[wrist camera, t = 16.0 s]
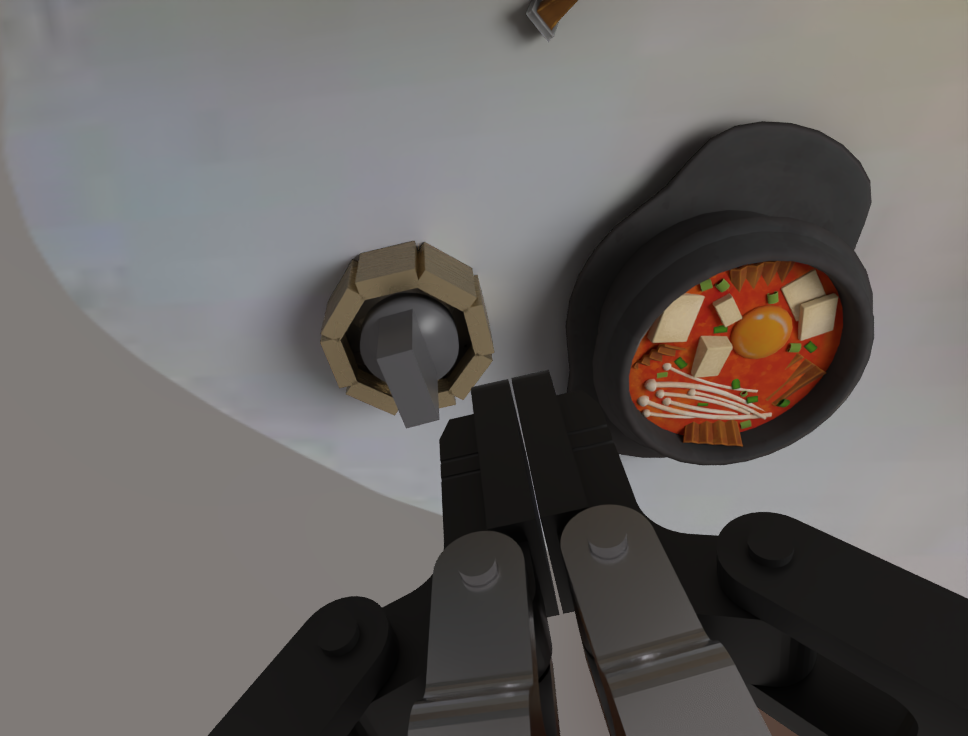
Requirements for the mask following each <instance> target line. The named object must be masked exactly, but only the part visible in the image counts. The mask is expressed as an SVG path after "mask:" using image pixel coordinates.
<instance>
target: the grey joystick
mask: <svg viewBox="0 0 968 736" xmlns="http://www.w3.org/2000/svg"><path fill="white" fill-rule="evenodd" d="M458 351H459V343H458V332H457V326H456V322H455V320H454V317H453V316H452V314H451V312H450V311H449V310H448V309H447V308H446V307H445V306H444V305H443V304H442V303H441V302H439V301H438V300H436V299H434V298H432V297H430V296H427V295H424V294H420V293H410V292H406V293H398V294H394V295H391V296H388V297H386V298H384V299H382V300H381V301H379V302H378V303H376V304H375V305H374V306H373V307H372V308H371V309H370V310H369V312H368V313H367V315H366V317H365V319H364V322H363V325H362V332H361V339H360V352H361V356H362V359H363V361H364V363H365V365H366V366H367V368H368V369H369V370H370V371H371V372H372V373H373V374H374V375H375V376H376V377H377V378H379V379H381V380H382V381H384V382H386V383H387V385H388V387H389V390H390V392H391V394H392V396H393V399H394V401H395V403H396V406H397V408H398V410H399V413H400V415H401V417H402V420H403V422H404V424H405V427H406V428H410V427H413V426H417V425H421V424H425V423H429V422H433V421H436V420H439V400H438V380H439V379H441V378H442V377H443V376H444V375H446V374H447V373H448V372H449V371H450V369H451V368H452V367H453V365H454V363H455V361H456V359H457V356H458Z"/></svg>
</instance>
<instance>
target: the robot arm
mask: <svg viewBox="0 0 968 736" xmlns="http://www.w3.org/2000/svg"><path fill="white" fill-rule="evenodd" d="M511 379H512V384H513V389H514V394H515V399H516V403H517V408H518V413H519V418H520V423H521V428H522V432H523V437H524V442H525V447H526V451H525V447H524V443H523V438H522V434H521V430H520V426H519V422H518V418H517V413H516V409H515V405H514V401H513V397H512V393H511V388H510V384H509V381H508V379H506V380H502V381H497V382H493V383H488V384H484V385H480V386H475V387H471V395H472V403H473V412H474V414H472V415H467V416H463V417H458V418H454V419H450V420H449V421H448V423H447V425H446V428H445V430H444V432H443V434H442V436H441V438H440V440H439V442H440V461H441V479H442V482H441V486H442V508H443V529H444V550H443V552H442V553H441V554H440V556H439V557H438V559H437V561H436V563H435V566H434V570H433V574H432V575H431V577H430V578H429V579H428V580H427V581H426V582H425V583H424V584H423V585H421V586H420V587H419V588H417V589H416V590H414V591H413V592H411V593H409V594H407V595H406V596H404V597H402V598H400V599H398V600H396V601H394V602H392V603H390V604H388V605H387V606H385V607H383V608H382V607H381V606H380V605H378V603H376V602H375V601H373V600H371V599H368V598H365V597H358V596H354V597H353V596H351V597H345V598H341V599H338V600H335V601H333V602H331V603H329V604H327V605H325V606H324V607H322V608H320V609H319V610H318V611H317V612H315V613H314V614H313V615H312V616H311V617H310V618H309V619H308V620H307V621H306V622H305V624H304V625H303V626H302V627H301V628H300V630H299V631H298V632H297V633H296V634H295V635H294V636H293V637H292V639H291V640H290V641H289V642H288V643H287V644H286V646H285V647H284V648H283V649H282V650H281V651H280V653H279V654H278V655H277V656H276V657H275V658H274V660H273V661H272V662H271V663H270V664H269V665H268V666H267V668H266V669H265V670H264V671H263V672H262V673H261V675H260V676H259V677H258V678H257V679H256V680H255V681H254V683H253V684H252V685H251V686H250V687H249V688H248V690H247V691H246V692H245V693H244V694H243V695H242V697H241V698H240V699H239V700H238V701H237V702H236V703H235V705H234V706H233V707H232V708H231V709H230V710H229V712H228V713H227V714H226V715H225V717H223V718H222V720H221V721H220V722H219V723H218V724H217V725H216V727H215V728H214V729H213V730H212V731H211V732H210V734H209V735H208V736H560V727H559V718H558V707H557V698H556V689H555V678H554V668H553V662H552V657H551V656H552V643H551V637H550V631H549V626H548V621H547V617H551V616H556V615H559V610H558V605H557V601H556V596H555V591H554V586H553V581H552V577H551V571H550V567H549V562H548V558H547V552H546V547H545V542H544V537H543V533H542V528H541V523H542V527H543V531H544V536H545V540H546V544H547V548H548V552H549V556H550V560H551V564H552V569H553V573H554V577H555V581H556V585H557V589H558V593H559V597H560V602H561V606H562V610H563V613H569V612H574V611H575V614H576V619H577V623H578V627H579V632H580V636H581V640H582V644H583V649H584V653H585V658H586V661H587V664H588V668H589V671H590V674H591V677H592V680H593V683H594V687H595V690H596V693H597V696H598V699H599V702H600V706H601V709H602V712H603V715H604V718H605V721H606V725H607V728H608V731H609V734H610V736H771V734H770V732H769V730H768V728H767V726H766V724H765V722H764V720H763V718H762V716H761V714H760V712H759V710H758V709H757V707H758V708H759V709H761V710H762V711H764V712H765V713H766V714H768V715H769V716H771V717H772V718H774V719H775V720H777V721H778V722H780V723H781V724H783V725H784V726H786V727H787V728H788V729H790V730H791V731H793V732H794V733H796V734H797V735H799V736H968V599H967V598H965V597H963V596H961V595H959V594H956V593H954V592H952V591H950V590H948V589H946V588H944V587H941V586H939V585H937V584H935V583H933V582H931V581H928V580H926V579H924V578H922V577H920V576H918V575H915V574H913V573H911V572H909V571H907V570H905V569H902V568H900V567H898V566H896V565H894V564H892V563H889V562H887V561H885V560H883V559H881V558H879V557H876V556H874V555H872V554H870V553H868V552H866V551H864V550H861V549H859V548H857V547H855V546H853V545H851V544H848V543H846V542H844V541H842V540H840V539H838V538H835V537H833V536H831V535H829V534H827V533H825V532H822V531H820V530H818V529H816V528H814V527H812V526H809V525H807V524H805V523H803V522H801V521H799V520H796V519H794V518H792V517H789V516H786V515H782V514H778V513H771V512H756V513H749V514H746V515H742V516H740V517H737V518H735V519H734V520H732V521H730V522H729V523H728V524H727V525H726V526H725V527H724V528H723V529H722V531H721V532H720V534H719V536H715V535H698V534H686V533H679V532H675V531H671V530H669V529H666V528H663V527H661V526H660V525H658V524H656V523H654V522H653V521H652V520H650V519H649V518H648V517H647V516H646V515H645V514H644V513H643V512H642V511H641V509H640V508H639V506H638V504H637V502H636V499H635V497H634V494H633V491H632V489H631V486H630V483H629V481H628V478H627V475H626V473H625V470H624V467H623V465H622V462H621V460H620V457H619V454H618V452H617V449H616V446H615V444H614V442H613V438H612V436H611V433H610V430H609V428H608V426H607V422H606V420H605V417H604V414H603V412H602V409H601V407H600V404H599V403H598V402H596V401H595V400H594V399H593V398H592V397H590V396H589V395H588V394H587V393H586V392H584V391H583V390H578V391H574V392H569V393H565V394H561V395H556V393H555V390H554V386H553V383H552V379H551V376H550V373H549V370H545V371H541V372H537V373H532V374H528V375H523V376H519V377H514V378H511ZM526 452H527V456H526ZM527 457H528V460H527ZM528 461H529V465H528ZM529 466H530V470H529ZM530 471H531V474H530ZM531 476H532V479H531ZM532 481H533V484H532ZM533 485H534V489H533ZM534 490H535V494H534ZM535 495H536V499H535ZM536 500H537V503H536ZM537 505H538V508H537ZM538 510H539V513H538ZM539 514H540V518H539ZM540 519H541V523H540Z"/></svg>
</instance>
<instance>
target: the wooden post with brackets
mask: <svg viewBox="0 0 968 736" xmlns="http://www.w3.org/2000/svg"><path fill="white" fill-rule="evenodd" d="M577 1H578V0H543V1H542V0H532V1H531V3H530V6H529V8H528V10H527V13H526V15H527V16H528V17H529V19H530V20H531V21H532V22H533V24H534V25H535V26H536V27H537V29H538V30H539V31H540V32H541V34H542V35H543V36H544V37H545V39H546V40H547V41H548V42H549V40H550V39H551V38H552V37H554V35H555V32H556V29H557V26H558V23H559V22H558V21H559V20H560V19H561V18H562V17H563V16H564V15H565V14H566V13H567V12H568V10H569V9H570V8H571V7H572V6H573V5H574V4H575V3H576V2H577Z"/></svg>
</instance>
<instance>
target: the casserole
mask: <svg viewBox="0 0 968 736" xmlns="http://www.w3.org/2000/svg"><path fill="white" fill-rule="evenodd" d="M870 205H871V187H870V180H869V178H868V176H867V174H866V172H865V170H864V168H863V166H862V165H861V163H860V161H859V160H858V159H857V158H856V157H855V156H854V155H853V154H852V153H851V152H850V151H849V150H848V149H847V148H846V147H845V146H844V145H843V144H841V143H839V142H837V141H836V140H834V139H832V138H831V137H829V136H827V135H825V134H824V133H822V132H820V131H818V130H814V129H811V128H807V127H804V126H800V125H796V124H793V123H781V122H763V121H762V122H756V123H750V124H744V125H738V126H734V127H732V128H730V129H728V130H726V131H724V132H723V133H721V134H719V135H717V136H715V137H713V138H711V139H710V140H709V141H708V142H707V143H706V144H705V145H704V146H703V147H702V148H701V149H700V150H699V151H698V152H697V153H696V154H695V155H694V156H693V157H692V158H691V159H690V160H689V161H688V162H687V163H686V164H685V165H684V167H683V168H682V169H681V170H680V171H679V172H678V173H677V174H676V176H675V177H674V178H673V179H672V180H671V181H670V182H669V183H668V185H667V186H666V187H665V188H664V189H662V190H661V191H660V192H658V193H657V194H656V195H655V196H653V197H652V198H651V199H650V200H648V201H647V202H646V203H644V204H643V205H642V206H641V207H639V208H638V209H637V210H636V211H634V212H633V213H632V214H631V215H629V216H628V217H627V218H625V219H624V220H623V221H622V222H620V223H619V224H618V225H617V226H615V227H614V228H613V229H612V231H611V232H610V233H609V234H608V235H607V236H606V237H605V239H604V240H603V241H602V242H601V243H600V244H599V245H598V246H597V248H596V249H595V250H594V251H593V253H592V255H591V256H590V258H589V259H588V261H587V263H586V264H585V266H584V268H583V269H582V271H581V273H580V274H579V276H578V279H577V282H576V284H575V287H574V290H573V292H572V295H571V298H570V301H569V307H568V314H567V320H566V335H567V347H568V358H569V369H570V372H569V380H568V388H567V393H569V392H574V391H578V390H583V391H584V392H586V393H587V394H588V395H589V396H590V397H592V398H593V399H594V400H595V401H596V402H598V403H599V404H600V407H601V409H602V412H603V414H604V417H605V420H606V422H607V426H608V428H609V430H610V433H611V436H612V438H613V442H614V444H615V446H616V449H617V452H618V454H622V455H629V456H635V457H642V458H665V457H668V458H671V459H674V460H677V461H679V462H684V463H690V464H697V465H727V464H733V463H739V462H746V461H749V460H753V459H756V458H759V457H763V456H766V455H769V454H771V453H774V452H776V451H778V450H780V449H782V448H785V447H787V446H789V445H791V444H793V443H794V442H796V441H798V440H799V439H801V438H803V437H804V436H806V435H807V434H809V433H811V432H812V431H813V430H815V429H816V428H817V427H818V426H819V425H821V424H822V423H823V422H824V421H826V420H827V419H828V418H829V417H831V415H832V414H833V413H834V412H835V411H836V410H837V409H838V408H839V407H840V406H841V405H842V404H843V403H844V401H845V400H846V399H847V398H848V396H849V395H850V394H851V392H852V391H853V389H854V388H855V386H856V385H857V383H858V382H859V380H860V378H861V376H862V374H863V372H864V369H865V367H866V365H867V363H868V361H869V358H870V353H871V349H872V345H873V340H874V316H873V293H872V289H871V286H870V282H869V278H868V274H867V271H866V269H865V268H864V266H863V264H862V263H861V261H860V259H859V258H858V256H857V254H856V253H855V251H854V249H855V247H856V244H857V242H858V239H859V237H860V234H861V231H862V229H863V226H864V224H865V221H866V218H867V215H868V212H869V209H870Z"/></svg>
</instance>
